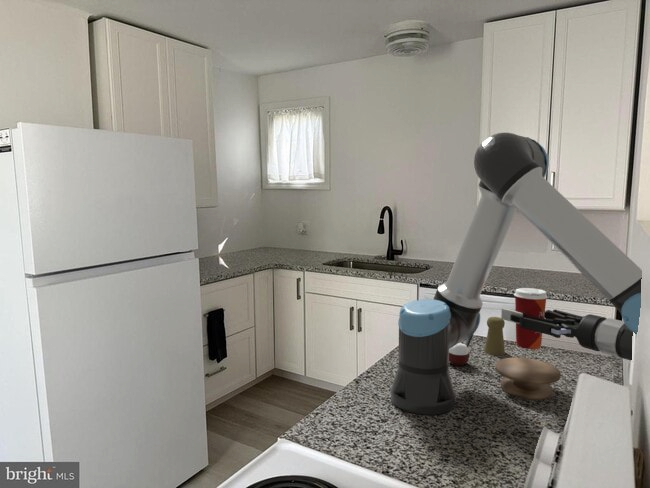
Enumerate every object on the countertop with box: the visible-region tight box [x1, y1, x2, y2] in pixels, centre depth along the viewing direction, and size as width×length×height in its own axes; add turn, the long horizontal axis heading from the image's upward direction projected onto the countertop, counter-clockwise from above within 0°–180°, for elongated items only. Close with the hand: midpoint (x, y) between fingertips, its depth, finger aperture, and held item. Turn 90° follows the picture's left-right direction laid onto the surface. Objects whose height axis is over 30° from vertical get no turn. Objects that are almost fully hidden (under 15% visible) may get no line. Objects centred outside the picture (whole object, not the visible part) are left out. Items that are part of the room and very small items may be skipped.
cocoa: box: [449, 334, 474, 367], centre depth 133 cm, size 10×6×12 cm, turn 57°
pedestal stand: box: [494, 357, 562, 401], centre depth 116 cm, size 15×15×6 cm
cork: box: [484, 316, 506, 356], centre depth 142 cm, size 6×6×11 cm
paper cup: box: [513, 287, 549, 350], centre depth 114 cm, size 8×8×14 cm
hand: (512, 311), depth 118 cm, fingers closed on paper cup, 7 cm apart
